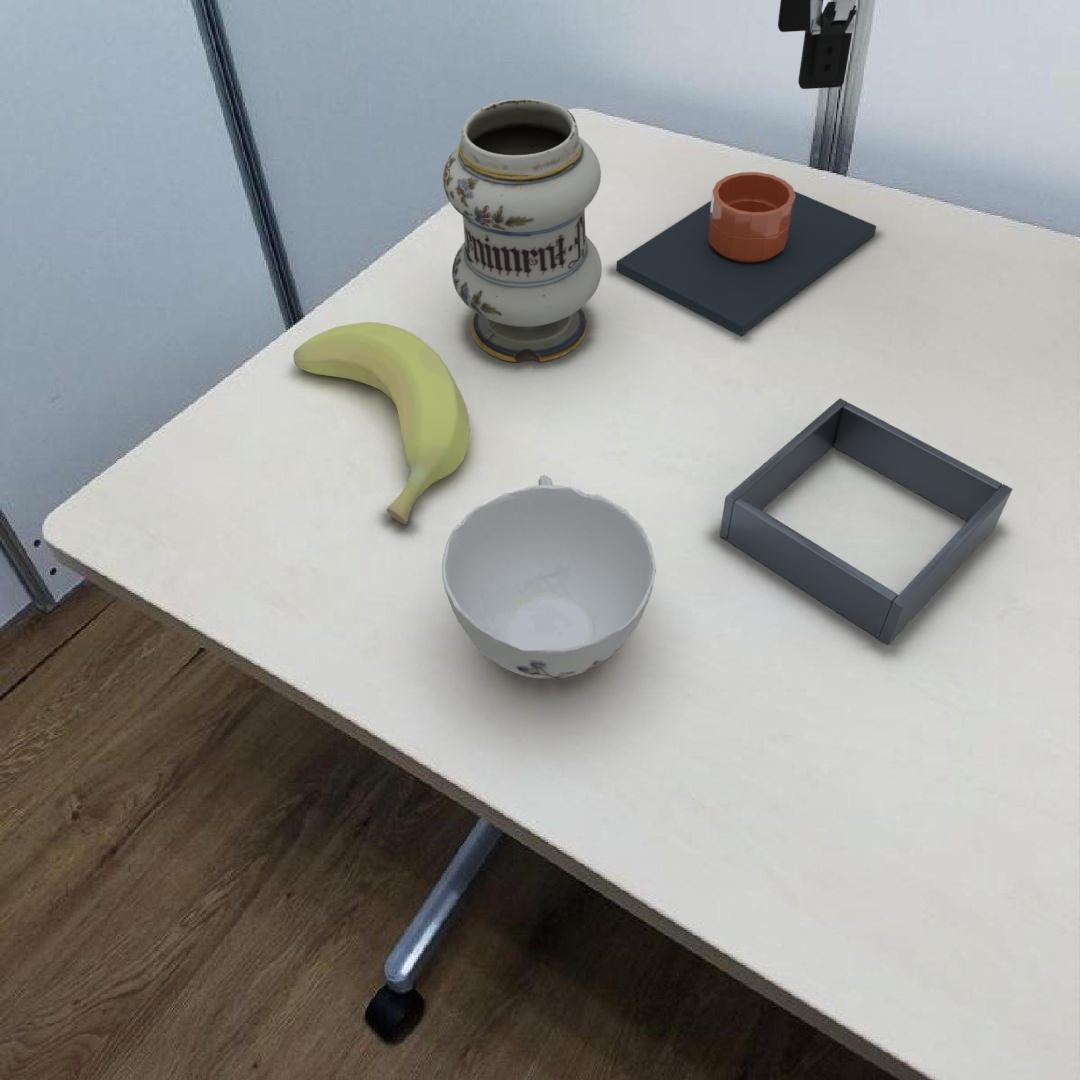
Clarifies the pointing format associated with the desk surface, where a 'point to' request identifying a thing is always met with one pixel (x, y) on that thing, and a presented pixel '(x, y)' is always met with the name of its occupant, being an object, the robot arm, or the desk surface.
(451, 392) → the banana
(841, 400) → the square frame
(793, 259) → the mat
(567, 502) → the teacup
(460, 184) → the apothecary jar
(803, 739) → the desk surface
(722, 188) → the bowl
